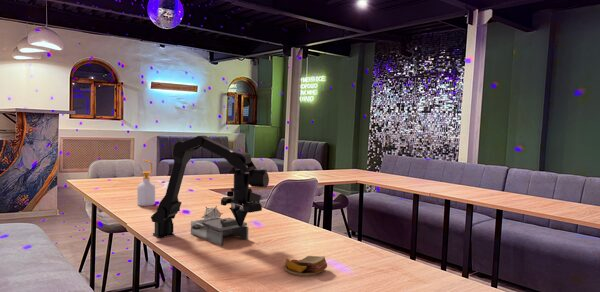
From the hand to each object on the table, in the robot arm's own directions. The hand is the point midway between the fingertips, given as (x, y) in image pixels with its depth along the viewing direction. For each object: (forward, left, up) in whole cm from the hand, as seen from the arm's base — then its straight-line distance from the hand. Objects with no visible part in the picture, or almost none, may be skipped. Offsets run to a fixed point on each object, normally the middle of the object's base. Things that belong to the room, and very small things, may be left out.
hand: (240, 226), depth 159 cm
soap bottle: (+5, +92, -7) cm, 93 cm away
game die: (+9, +33, -7) cm, 36 cm away
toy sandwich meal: (0, -35, -8) cm, 36 cm away
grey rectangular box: (0, +14, -7) cm, 16 cm away
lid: (0, +10, -2) cm, 11 cm away
